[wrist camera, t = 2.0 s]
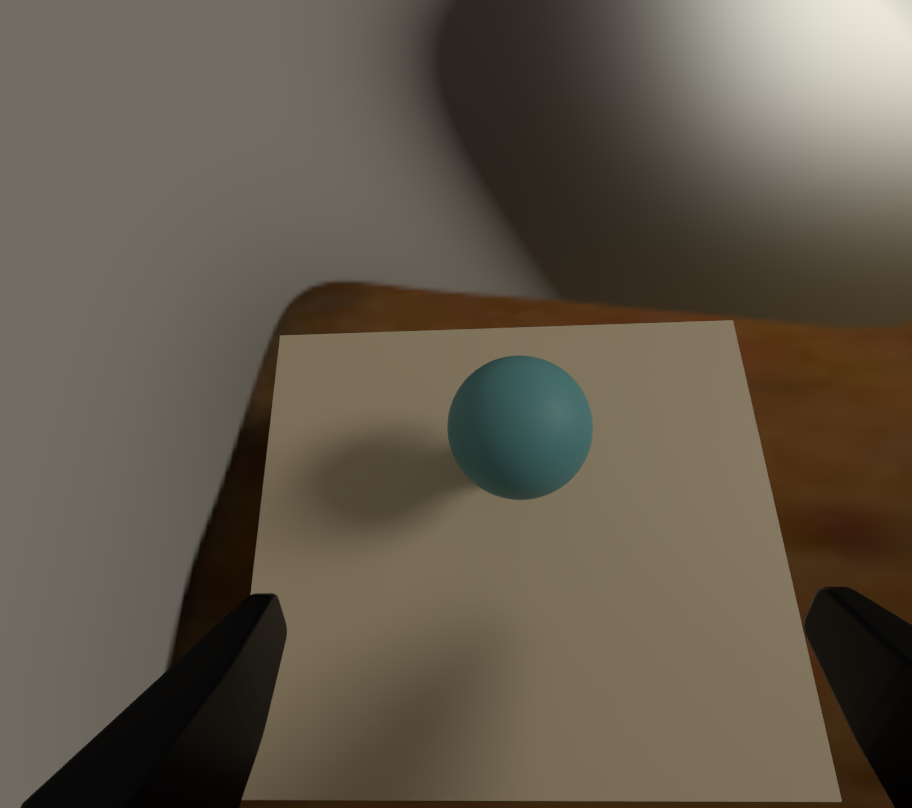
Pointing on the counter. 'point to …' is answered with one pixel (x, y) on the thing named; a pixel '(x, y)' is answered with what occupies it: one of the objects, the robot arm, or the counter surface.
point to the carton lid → (529, 573)
